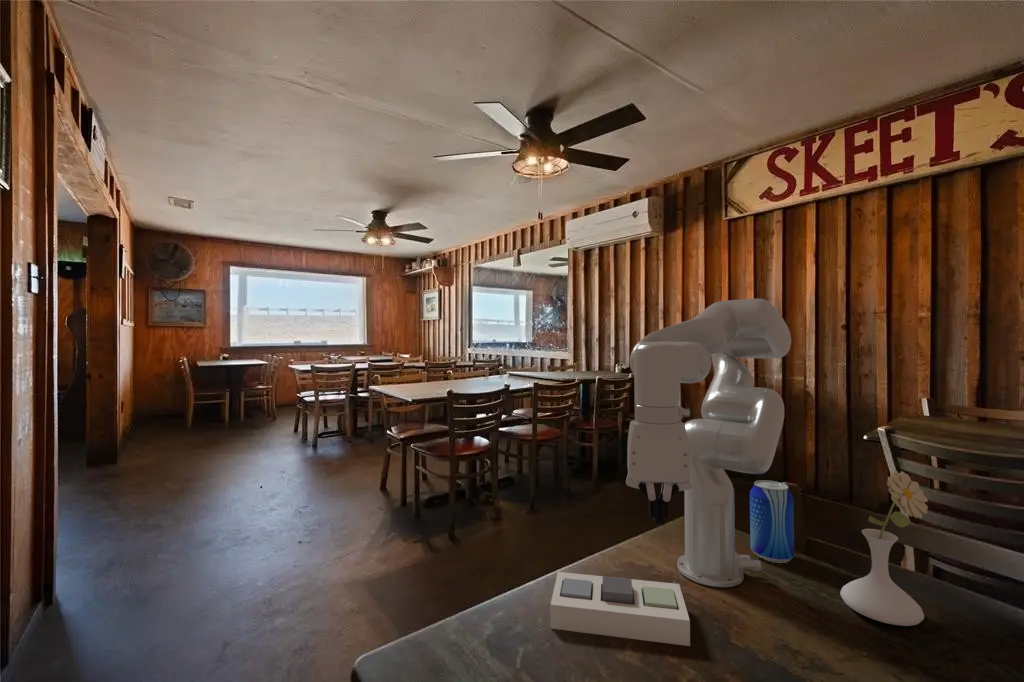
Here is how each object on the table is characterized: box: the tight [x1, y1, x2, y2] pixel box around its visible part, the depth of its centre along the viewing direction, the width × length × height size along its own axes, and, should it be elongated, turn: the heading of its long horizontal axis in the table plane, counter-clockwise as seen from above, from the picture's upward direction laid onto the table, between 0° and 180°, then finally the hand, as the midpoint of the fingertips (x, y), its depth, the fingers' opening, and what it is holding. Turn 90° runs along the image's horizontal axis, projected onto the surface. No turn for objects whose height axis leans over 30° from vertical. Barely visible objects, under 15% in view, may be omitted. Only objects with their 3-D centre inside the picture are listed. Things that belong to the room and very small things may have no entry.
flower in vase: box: [839, 470, 929, 627], centre depth 79 cm, size 13×11×25 cm
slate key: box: [561, 578, 592, 600], centre depth 80 cm, size 5×5×3 cm
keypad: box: [550, 571, 691, 647], centre depth 78 cm, size 22×11×4 cm, turn 78°
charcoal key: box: [602, 576, 633, 605], centre depth 78 cm, size 5×5×3 cm
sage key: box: [643, 586, 677, 609], centre depth 77 cm, size 5×5×3 cm
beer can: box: [749, 479, 795, 564], centre depth 100 cm, size 8×8×16 cm
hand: (658, 521), depth 77 cm, fingers closed
